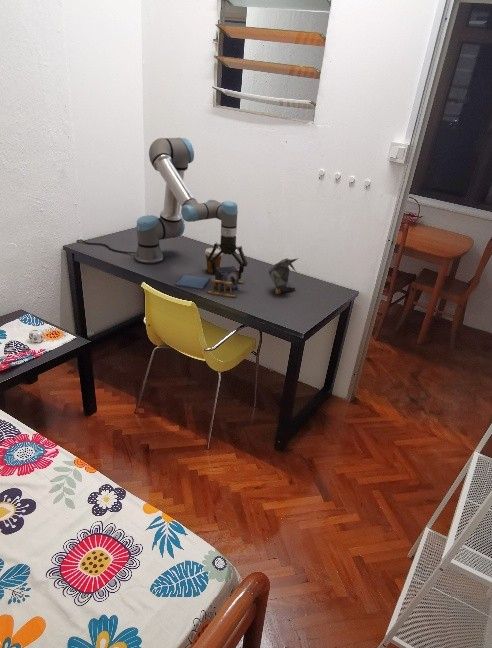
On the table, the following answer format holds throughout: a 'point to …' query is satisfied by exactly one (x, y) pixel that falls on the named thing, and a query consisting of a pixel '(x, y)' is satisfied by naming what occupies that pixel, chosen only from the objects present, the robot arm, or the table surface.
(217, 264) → the disposable coffee cup
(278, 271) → the bird figurine
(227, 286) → the small box
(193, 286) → the felt mat
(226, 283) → the rack
